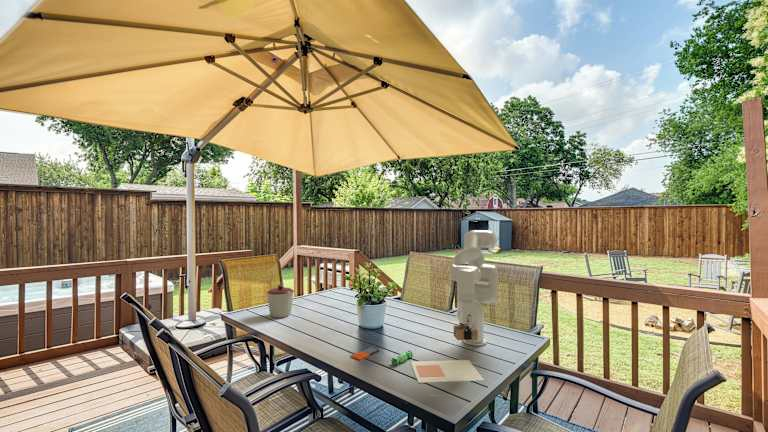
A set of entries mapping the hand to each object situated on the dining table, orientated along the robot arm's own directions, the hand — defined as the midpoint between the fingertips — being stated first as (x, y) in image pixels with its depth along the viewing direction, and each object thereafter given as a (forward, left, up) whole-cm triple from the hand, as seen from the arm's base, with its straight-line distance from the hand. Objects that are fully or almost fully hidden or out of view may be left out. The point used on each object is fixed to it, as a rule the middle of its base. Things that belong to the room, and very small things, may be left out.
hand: (465, 336), depth 156 cm
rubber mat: (0, -9, -15) cm, 18 cm away
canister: (-88, -99, -16) cm, 133 cm away
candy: (-12, -27, -16) cm, 33 cm away
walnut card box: (0, 0, -1) cm, 1 cm away
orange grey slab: (-21, -44, -16) cm, 51 cm away
